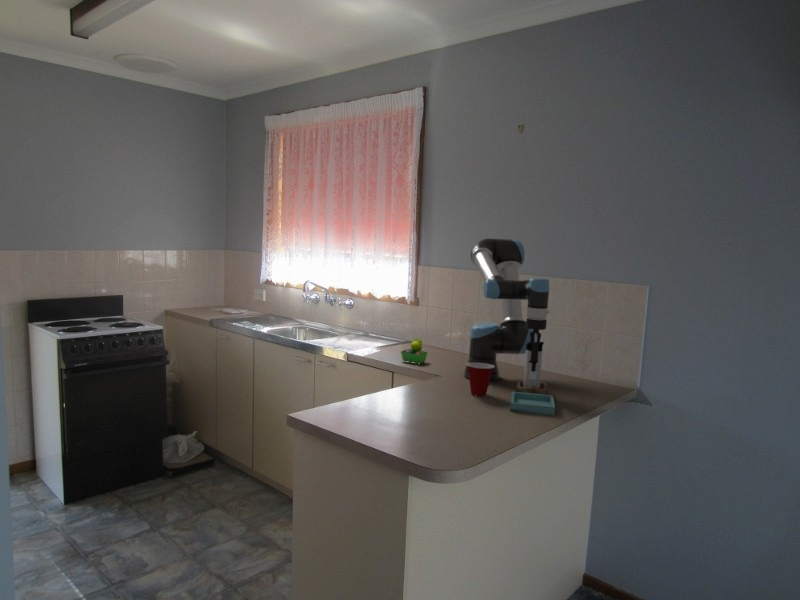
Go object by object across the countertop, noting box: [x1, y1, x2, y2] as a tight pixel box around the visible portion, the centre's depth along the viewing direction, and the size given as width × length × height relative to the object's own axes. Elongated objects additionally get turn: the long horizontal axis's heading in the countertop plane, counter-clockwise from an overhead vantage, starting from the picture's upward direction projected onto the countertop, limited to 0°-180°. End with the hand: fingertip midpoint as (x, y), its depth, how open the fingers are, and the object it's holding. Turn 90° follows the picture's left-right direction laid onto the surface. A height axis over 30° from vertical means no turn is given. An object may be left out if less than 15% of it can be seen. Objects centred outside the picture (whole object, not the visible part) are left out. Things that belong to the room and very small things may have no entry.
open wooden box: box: [516, 379, 549, 395], centre depth 220 cm, size 12×12×4 cm
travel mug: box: [523, 341, 545, 389], centre depth 219 cm, size 6×7×20 cm
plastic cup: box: [465, 362, 494, 397], centre depth 218 cm, size 11×11×12 cm
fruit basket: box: [400, 337, 429, 364], centre depth 268 cm, size 11×9×11 cm
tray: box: [509, 391, 556, 416], centre depth 205 cm, size 15×15×3 cm
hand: (532, 376), depth 220 cm, fingers closed on travel mug, 6 cm apart
